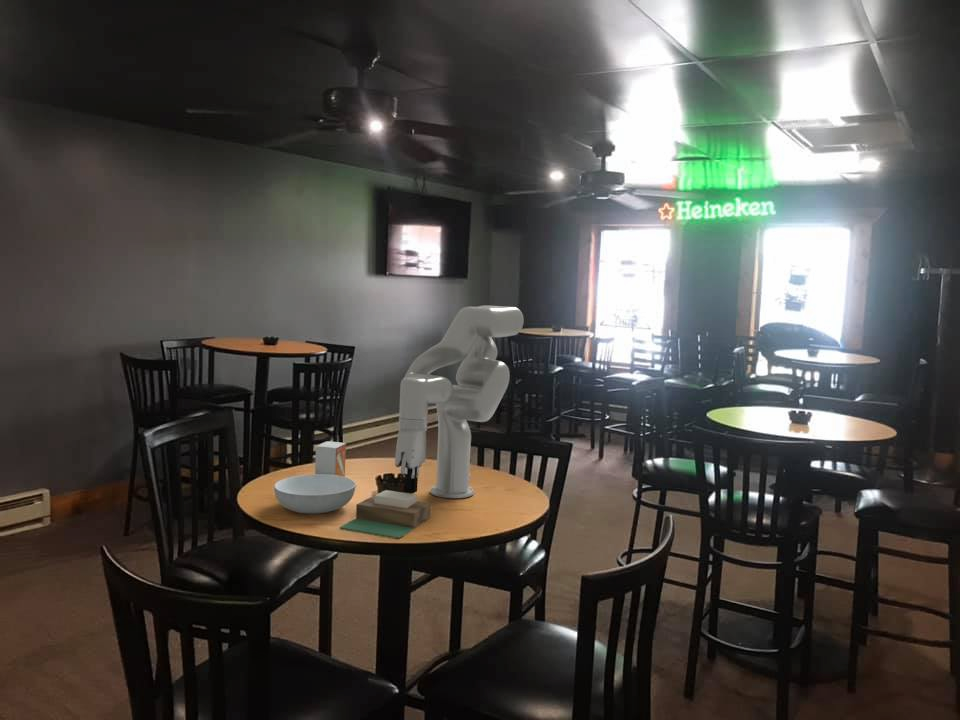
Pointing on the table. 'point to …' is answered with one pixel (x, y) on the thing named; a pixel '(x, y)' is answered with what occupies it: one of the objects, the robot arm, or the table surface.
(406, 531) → the mat
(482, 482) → the table surface
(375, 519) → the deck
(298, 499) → the serving bowl
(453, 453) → the robot arm
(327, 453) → the small box
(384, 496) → the light grey flat block
